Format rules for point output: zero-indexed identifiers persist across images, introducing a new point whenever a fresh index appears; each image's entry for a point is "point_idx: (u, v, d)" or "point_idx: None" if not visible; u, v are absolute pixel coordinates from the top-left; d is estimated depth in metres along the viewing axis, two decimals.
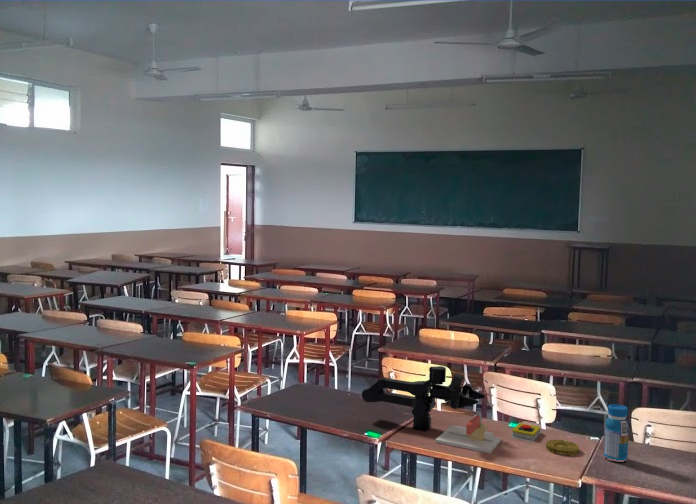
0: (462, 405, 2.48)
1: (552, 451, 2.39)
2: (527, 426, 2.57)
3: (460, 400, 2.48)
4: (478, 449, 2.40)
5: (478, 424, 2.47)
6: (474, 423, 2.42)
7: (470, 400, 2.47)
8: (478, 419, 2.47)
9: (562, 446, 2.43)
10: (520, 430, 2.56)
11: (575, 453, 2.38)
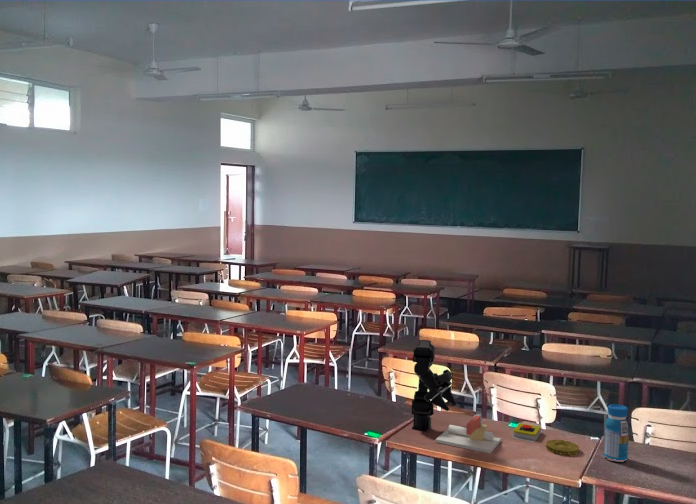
0: (434, 402, 2.46)
1: (552, 451, 2.39)
2: (528, 426, 2.57)
3: (436, 398, 2.45)
4: (478, 449, 2.40)
5: (478, 424, 2.47)
6: (474, 423, 2.42)
7: (443, 404, 2.45)
8: (478, 419, 2.47)
9: (562, 446, 2.42)
10: (521, 430, 2.56)
11: (575, 453, 2.38)
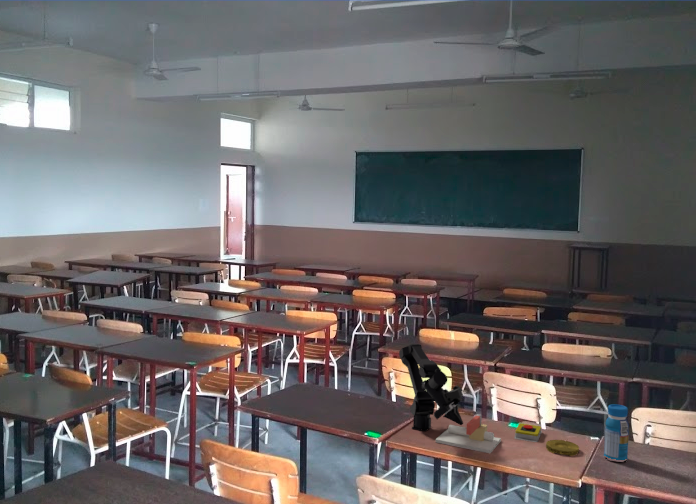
0: (447, 416, 2.47)
1: (552, 451, 2.39)
2: (529, 426, 2.57)
3: (449, 412, 2.46)
4: (478, 449, 2.40)
5: (478, 424, 2.47)
6: (474, 423, 2.42)
7: (457, 418, 2.46)
8: (478, 419, 2.47)
9: (562, 446, 2.42)
10: (523, 431, 2.55)
11: (575, 453, 2.38)
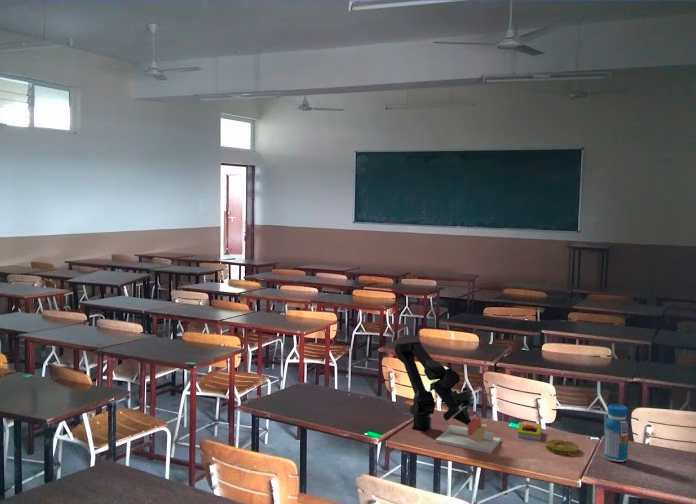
0: (457, 418, 2.46)
1: (552, 451, 2.39)
2: (530, 426, 2.57)
3: (459, 414, 2.45)
4: (478, 449, 2.40)
5: (478, 424, 2.47)
6: (475, 423, 2.42)
7: (466, 420, 2.45)
8: (478, 419, 2.47)
9: (562, 446, 2.42)
10: (525, 431, 2.55)
11: (575, 453, 2.38)
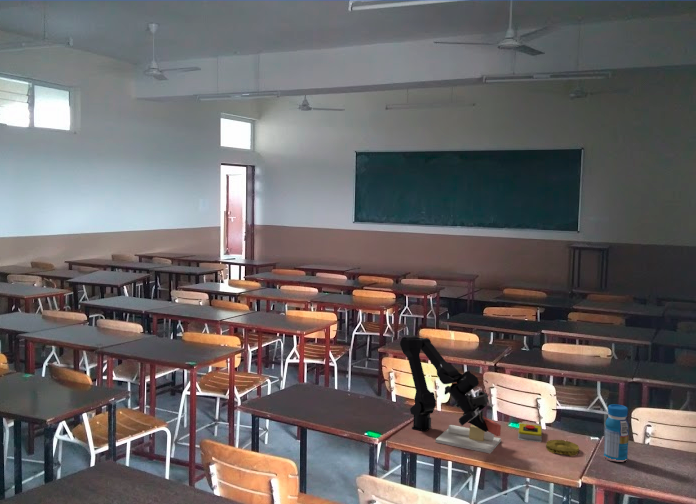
0: (472, 422, 2.43)
1: (552, 451, 2.39)
2: (531, 426, 2.57)
3: (474, 418, 2.42)
4: (478, 449, 2.40)
5: None
6: None
7: (482, 425, 2.42)
8: None
9: (562, 446, 2.42)
10: (526, 431, 2.55)
11: (575, 453, 2.38)
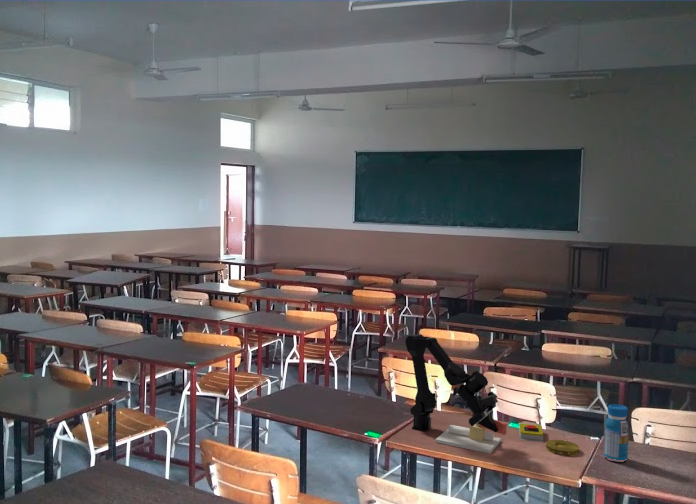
0: (482, 423, 2.41)
1: (552, 451, 2.39)
2: (532, 426, 2.57)
3: (484, 419, 2.40)
4: (478, 449, 2.40)
5: None
6: None
7: (492, 425, 2.40)
8: None
9: (562, 446, 2.42)
10: (528, 431, 2.55)
11: (575, 453, 2.38)
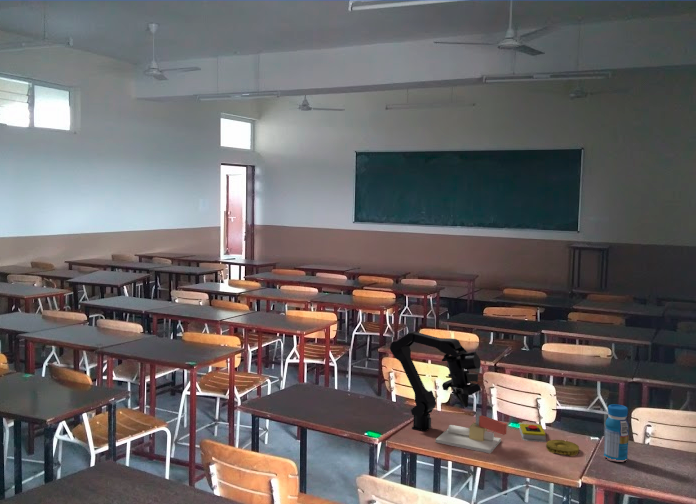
0: (462, 395, 2.51)
1: (552, 451, 2.39)
2: (534, 426, 2.57)
3: None
4: (478, 449, 2.40)
5: None
6: None
7: (467, 400, 2.53)
8: None
9: (562, 446, 2.42)
10: (530, 431, 2.55)
11: (575, 453, 2.38)
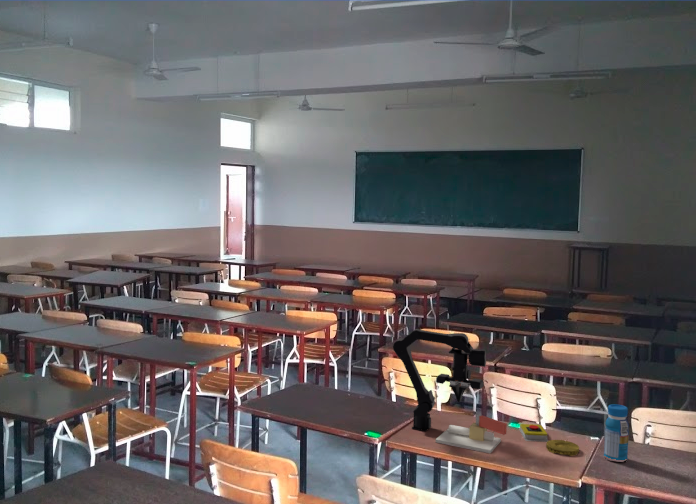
0: (462, 390, 2.56)
1: (552, 451, 2.39)
2: (535, 426, 2.57)
3: None
4: (478, 449, 2.40)
5: None
6: None
7: (462, 395, 2.58)
8: None
9: (562, 446, 2.42)
10: (532, 431, 2.55)
11: (575, 453, 2.38)
